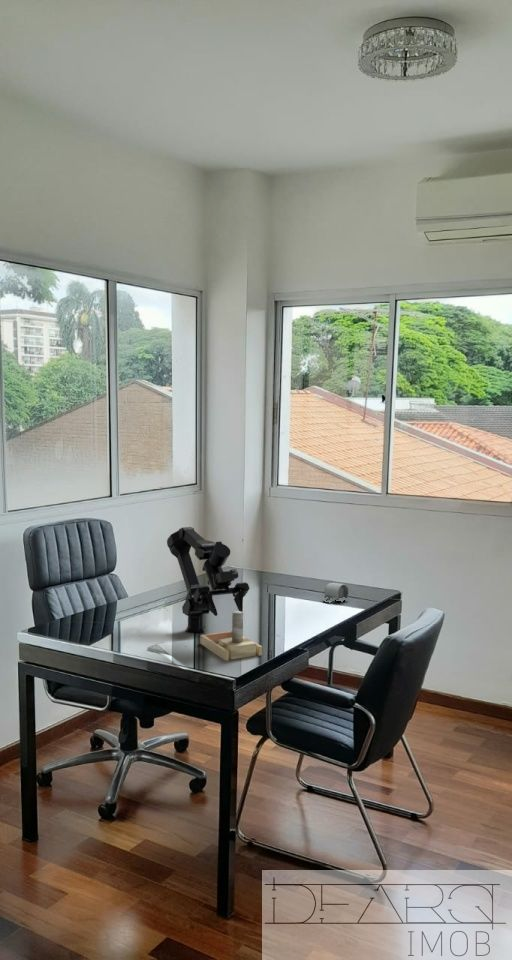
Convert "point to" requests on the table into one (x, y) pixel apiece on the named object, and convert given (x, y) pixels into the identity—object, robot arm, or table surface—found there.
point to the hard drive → (158, 648)
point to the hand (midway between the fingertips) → (229, 613)
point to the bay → (211, 644)
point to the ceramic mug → (336, 591)
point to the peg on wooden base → (238, 640)
